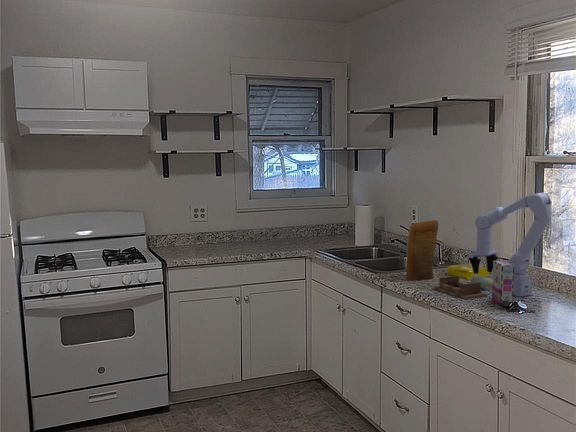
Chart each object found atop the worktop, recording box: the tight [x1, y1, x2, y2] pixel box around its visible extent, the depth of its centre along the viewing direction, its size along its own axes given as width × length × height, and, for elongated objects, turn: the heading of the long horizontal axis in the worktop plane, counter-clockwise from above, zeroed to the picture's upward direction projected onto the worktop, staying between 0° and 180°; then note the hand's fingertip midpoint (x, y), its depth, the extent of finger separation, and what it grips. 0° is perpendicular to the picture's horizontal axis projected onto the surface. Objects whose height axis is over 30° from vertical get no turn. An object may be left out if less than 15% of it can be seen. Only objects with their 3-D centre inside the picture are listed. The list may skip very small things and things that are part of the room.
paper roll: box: [470, 275, 493, 291], centre depth 255 cm, size 10×5×5 cm, turn 22°
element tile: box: [447, 263, 490, 280], centre depth 282 cm, size 15×15×5 cm
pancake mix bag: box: [405, 219, 439, 282], centre depth 272 cm, size 7×19×28 cm, turn 115°
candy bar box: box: [491, 260, 514, 306], centre depth 228 cm, size 11×5×16 cm, turn 178°
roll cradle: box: [433, 275, 488, 300], centre depth 246 cm, size 20×12×6 cm, turn 22°
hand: (482, 272), depth 254 cm, fingers open, 7 cm apart
